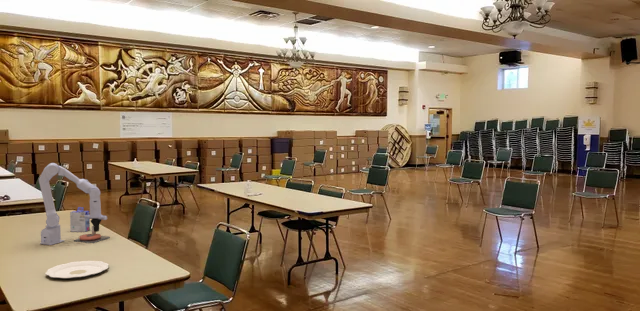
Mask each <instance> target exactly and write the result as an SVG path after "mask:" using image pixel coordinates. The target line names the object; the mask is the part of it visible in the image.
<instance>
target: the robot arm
mask: <svg viewBox="0 0 640 311" xmlns="http://www.w3.org/2000/svg"><path fill="white" fill-rule="evenodd" d="M54 176H62V177H66V179H67V180H69V181H72V182H74V183H75V185H76V188H78V189H79V190H81V191H83V192H84V193H85V194H88V195H89V213H90V215H84V218H85V219H90V224H92V226H93V227H94V232H96V233H97V232H99V231H100V224H101V222H102V220H103V221H106V220H108V216H107V215H105V214H104V215H103V214H102V208H101V206H102V204H101V202H102V201H101V193H102V192H101V190H100V189H99V187H98V186H96V185H95V184H93V183H91V182H90V181H89V180H88V179H85V178H80V177H78V176H76V175H75V174H73V173H72V172H71V171H69V169H67V168H65V167H63V166H61V165H58V164H57V163H55V162H50V163H48V164H47V165H46V166H45V167H44V168H43V171H42V172H41V174H40V176H39V178H38V183H39V188H40V192H41V195H42V199H43V204H44V209H45V215H46V220H45V224H46V225H45V227H44V228H43V229H41V231H40V243H39V244H40V245H45V246H46V245H48V246H52V245H56V244H59V243H63V242H65V241H66V240H64V239H61V238H62V235H61V234H62V233H61V224H59V223H60V215H59V214H57V211H56V208H55V207H56V206H55V202H54V197H53V194H52V189H51V184H50V181H51V179H52V178H53V177H54Z"/></svg>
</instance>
